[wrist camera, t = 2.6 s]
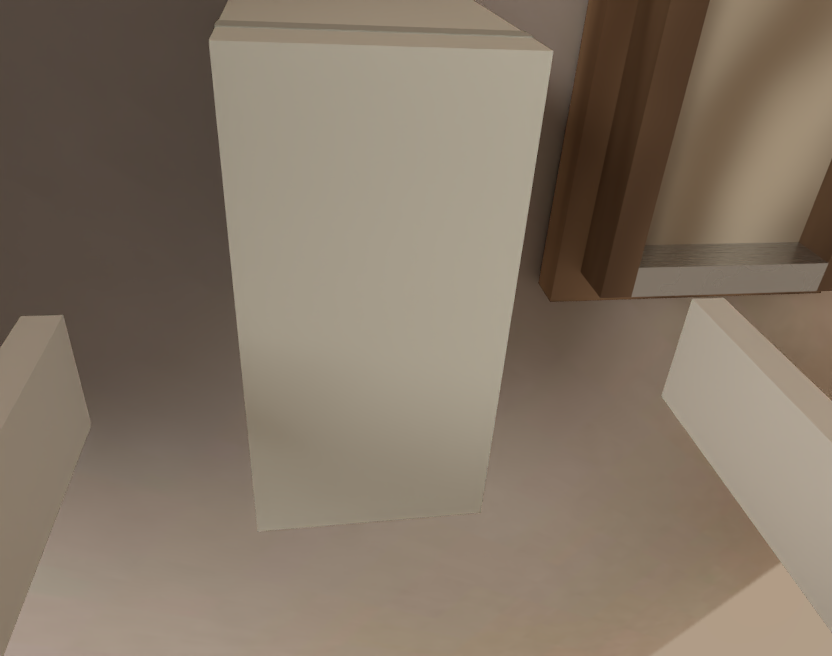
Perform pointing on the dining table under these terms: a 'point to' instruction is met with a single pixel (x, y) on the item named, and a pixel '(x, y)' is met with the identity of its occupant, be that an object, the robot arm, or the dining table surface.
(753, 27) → the tray
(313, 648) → the dining table surface
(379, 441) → the white lidded box
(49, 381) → the robot arm
